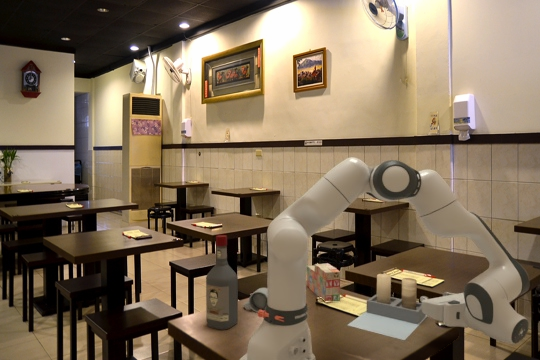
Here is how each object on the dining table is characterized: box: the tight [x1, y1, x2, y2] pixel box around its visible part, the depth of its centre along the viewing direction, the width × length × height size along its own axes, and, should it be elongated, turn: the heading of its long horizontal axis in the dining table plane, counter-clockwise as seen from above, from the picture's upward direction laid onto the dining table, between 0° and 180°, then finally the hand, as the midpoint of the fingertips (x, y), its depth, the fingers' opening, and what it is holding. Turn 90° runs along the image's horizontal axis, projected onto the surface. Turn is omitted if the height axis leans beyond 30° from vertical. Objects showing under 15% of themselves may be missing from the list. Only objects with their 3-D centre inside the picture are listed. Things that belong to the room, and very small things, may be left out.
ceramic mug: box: [243, 287, 267, 313], centre depth 155 cm, size 11×8×8 cm
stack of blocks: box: [306, 262, 341, 302], centre depth 172 cm, size 21×6×12 cm, turn 15°
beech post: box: [401, 277, 418, 310], centre depth 144 cm, size 5×5×10 cm
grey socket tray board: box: [347, 273, 429, 341], centre depth 141 cm, size 24×19×14 cm
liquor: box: [205, 234, 239, 331], centre depth 140 cm, size 9×9×30 cm
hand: (433, 296), depth 133 cm, fingers open, 8 cm apart
